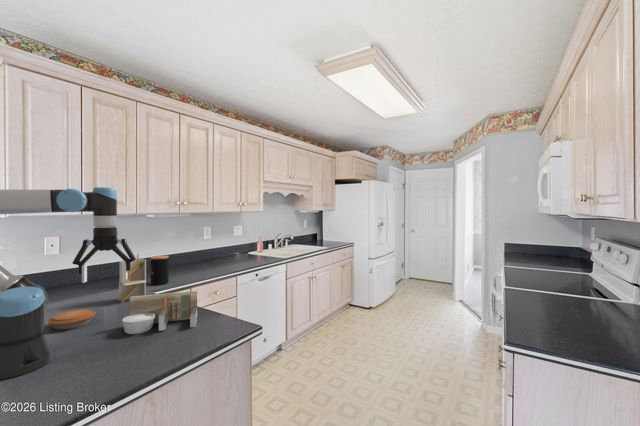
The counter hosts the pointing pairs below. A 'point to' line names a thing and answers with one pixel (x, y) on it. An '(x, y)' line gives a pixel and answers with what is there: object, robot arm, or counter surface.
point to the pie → (71, 319)
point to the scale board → (176, 305)
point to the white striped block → (193, 317)
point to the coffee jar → (159, 270)
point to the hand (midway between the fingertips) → (105, 280)
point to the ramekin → (138, 323)
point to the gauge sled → (163, 316)
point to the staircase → (133, 280)
